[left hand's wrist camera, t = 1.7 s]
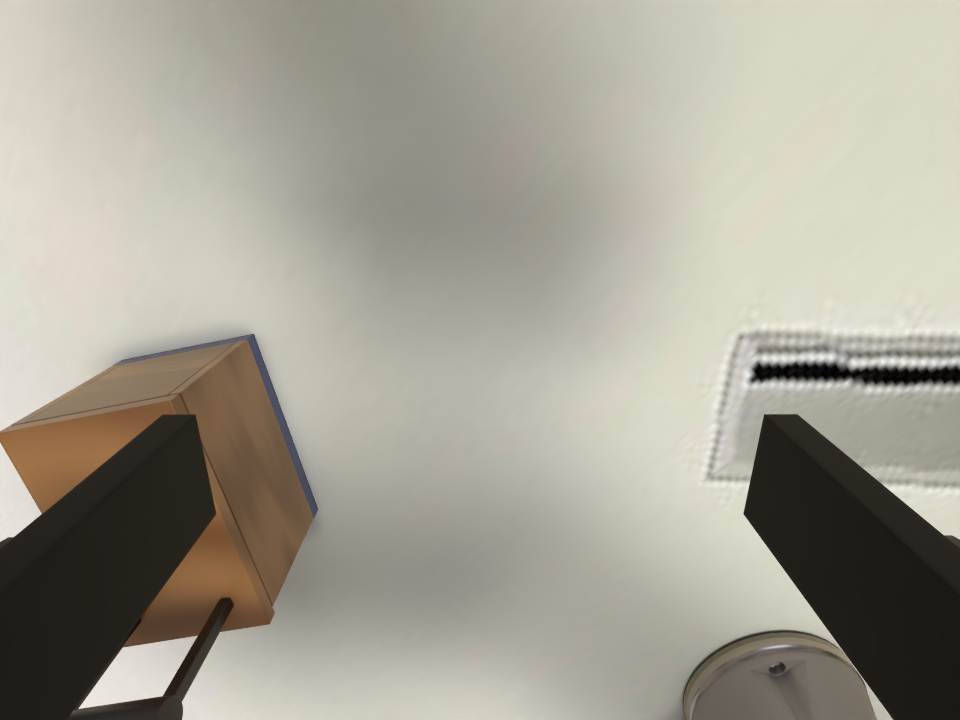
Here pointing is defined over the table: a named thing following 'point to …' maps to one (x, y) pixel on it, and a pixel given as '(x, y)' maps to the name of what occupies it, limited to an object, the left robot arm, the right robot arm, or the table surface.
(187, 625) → the lid
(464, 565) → the table surface
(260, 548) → the chest
